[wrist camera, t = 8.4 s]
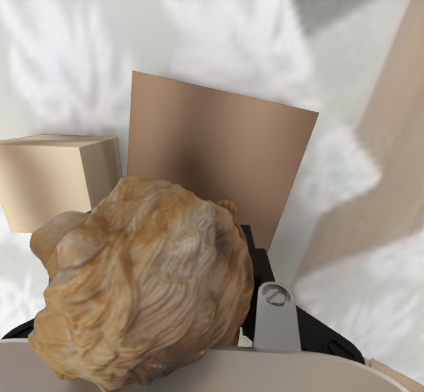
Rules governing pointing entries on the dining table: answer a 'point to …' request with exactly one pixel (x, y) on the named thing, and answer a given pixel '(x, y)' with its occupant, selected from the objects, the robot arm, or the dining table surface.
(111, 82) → the dining table surface
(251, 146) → the walnut block
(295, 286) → the dining table surface
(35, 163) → the oak block
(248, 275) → the lion figurine
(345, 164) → the dining table surface
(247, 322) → the robot arm
